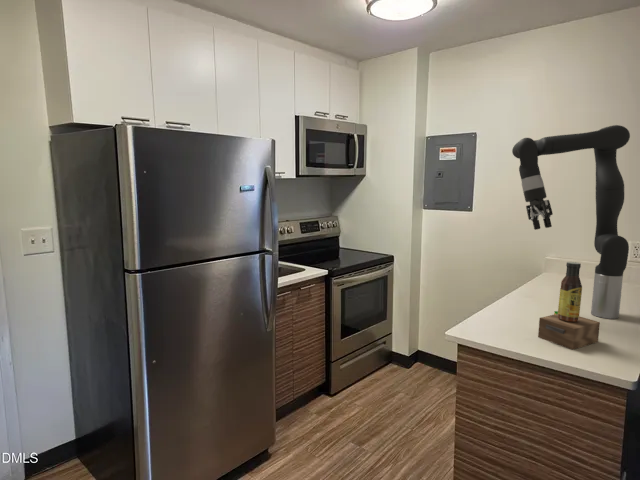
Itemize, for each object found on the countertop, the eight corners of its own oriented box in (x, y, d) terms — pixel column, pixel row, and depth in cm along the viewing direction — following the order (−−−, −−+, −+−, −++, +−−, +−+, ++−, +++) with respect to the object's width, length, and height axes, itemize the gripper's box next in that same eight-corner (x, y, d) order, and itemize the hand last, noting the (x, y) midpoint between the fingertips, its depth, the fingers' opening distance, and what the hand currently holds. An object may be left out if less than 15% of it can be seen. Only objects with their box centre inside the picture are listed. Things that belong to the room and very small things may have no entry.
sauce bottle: (571, 324, 132) (576, 265, 129) (553, 318, 138) (557, 262, 135) (583, 321, 135) (588, 263, 132) (564, 315, 141) (569, 260, 138)
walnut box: (562, 330, 146) (564, 312, 145) (598, 342, 135) (599, 322, 134) (536, 337, 139) (538, 318, 138) (571, 350, 128) (573, 329, 127)
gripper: (552, 183, 151) (562, 224, 150) (534, 189, 165) (543, 227, 164) (532, 187, 151) (542, 229, 150) (516, 193, 165) (525, 231, 164)
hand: (542, 228), depth 157 cm, fingers open, 8 cm apart
